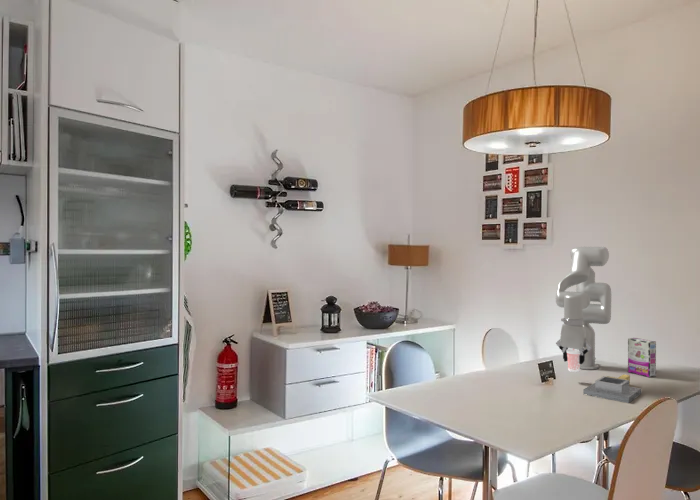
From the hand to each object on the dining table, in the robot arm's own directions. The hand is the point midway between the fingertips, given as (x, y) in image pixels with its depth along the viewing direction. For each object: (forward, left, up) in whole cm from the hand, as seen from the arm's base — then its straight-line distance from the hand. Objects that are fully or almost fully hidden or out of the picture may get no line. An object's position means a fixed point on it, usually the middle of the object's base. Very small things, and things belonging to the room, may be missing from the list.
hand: (573, 361), depth 230 cm
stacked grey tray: (+7, +18, -9) cm, 22 cm away
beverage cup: (0, 0, -4) cm, 4 cm away
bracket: (-5, +18, -9) cm, 21 cm away
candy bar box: (-35, +18, -9) cm, 41 cm away
